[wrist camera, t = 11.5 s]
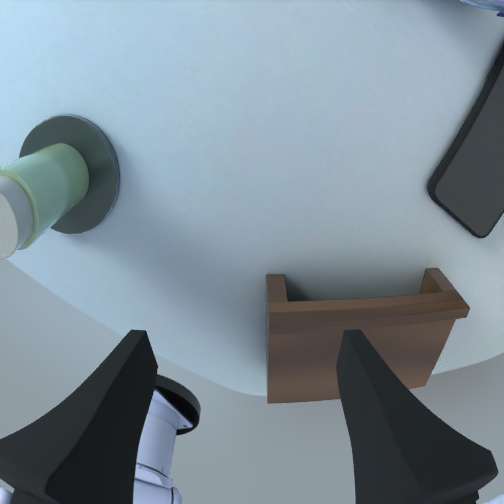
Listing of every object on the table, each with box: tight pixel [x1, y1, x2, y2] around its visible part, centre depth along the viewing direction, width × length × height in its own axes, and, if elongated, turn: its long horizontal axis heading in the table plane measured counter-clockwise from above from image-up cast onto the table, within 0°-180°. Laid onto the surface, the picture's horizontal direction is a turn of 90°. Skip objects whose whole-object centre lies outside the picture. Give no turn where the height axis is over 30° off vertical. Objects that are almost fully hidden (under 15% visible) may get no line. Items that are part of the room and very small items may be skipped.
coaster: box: [19, 115, 119, 234], centre depth 18 cm, size 8×8×1 cm
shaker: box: [0, 143, 89, 258], centre depth 14 cm, size 4×4×7 cm
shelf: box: [266, 268, 470, 403], centre depth 21 cm, size 9×13×5 cm
